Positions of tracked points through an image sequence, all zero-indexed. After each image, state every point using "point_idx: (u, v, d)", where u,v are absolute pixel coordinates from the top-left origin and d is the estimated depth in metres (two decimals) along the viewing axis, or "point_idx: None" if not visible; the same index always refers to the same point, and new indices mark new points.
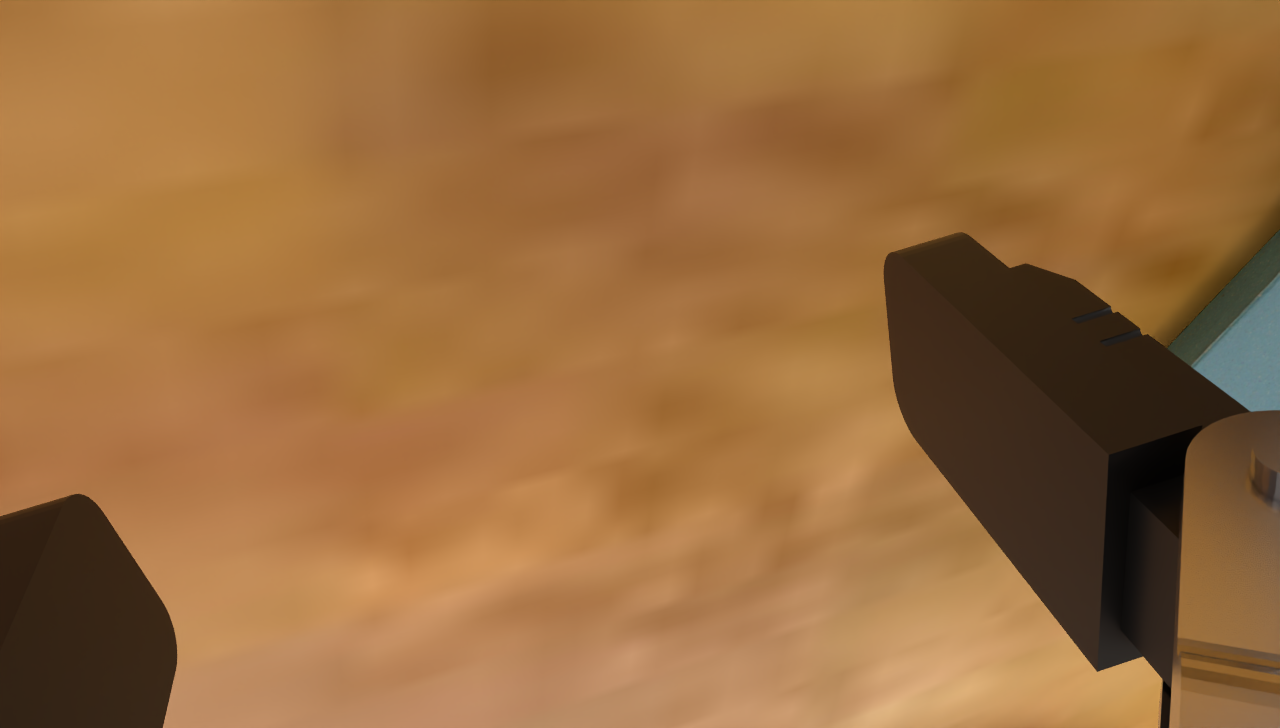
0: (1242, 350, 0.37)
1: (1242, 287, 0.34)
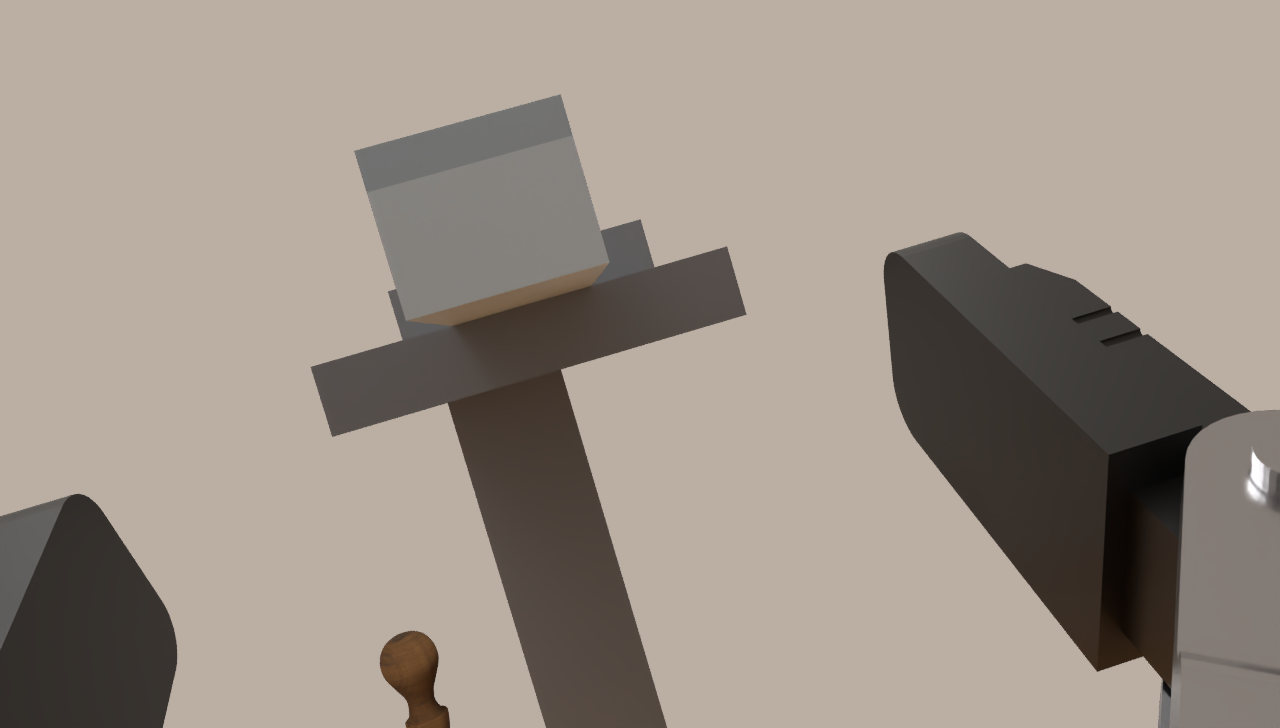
0: None
1: None
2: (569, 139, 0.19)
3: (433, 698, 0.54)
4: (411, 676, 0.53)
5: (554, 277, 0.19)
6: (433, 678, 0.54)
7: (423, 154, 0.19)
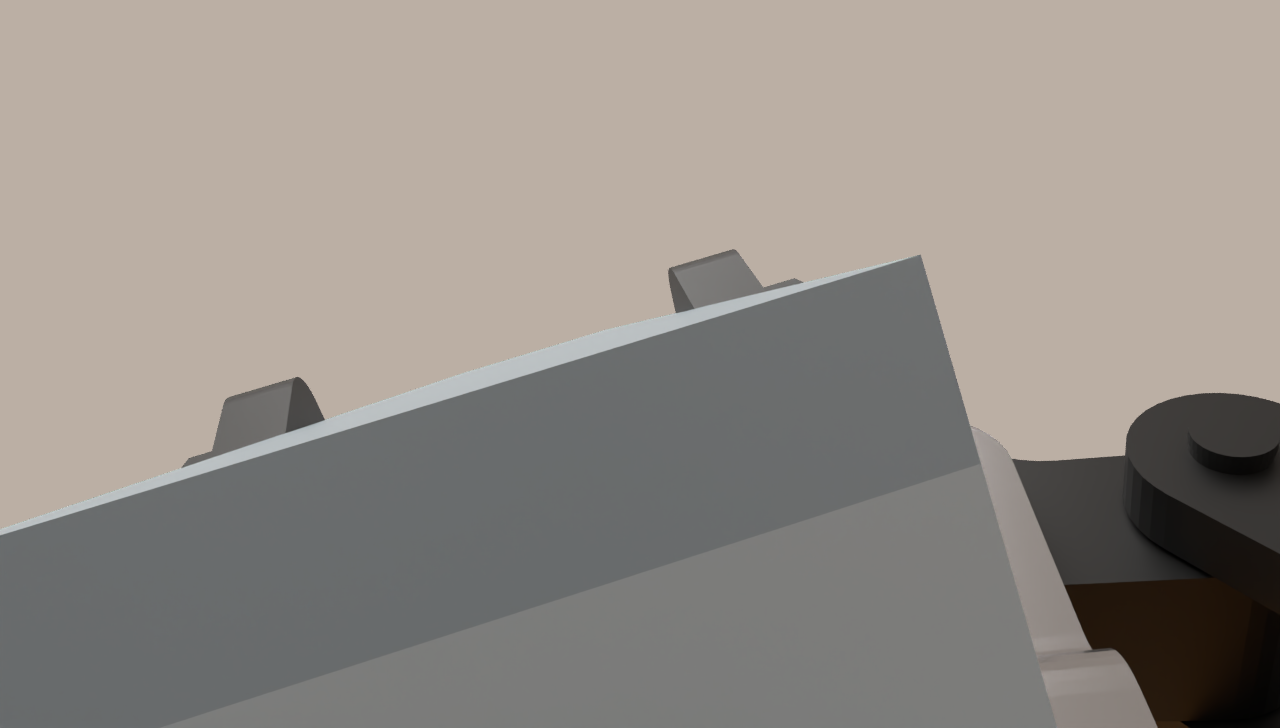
0: None
1: None
2: (967, 485, 0.04)
3: None
4: None
5: None
6: None
7: (201, 592, 0.04)
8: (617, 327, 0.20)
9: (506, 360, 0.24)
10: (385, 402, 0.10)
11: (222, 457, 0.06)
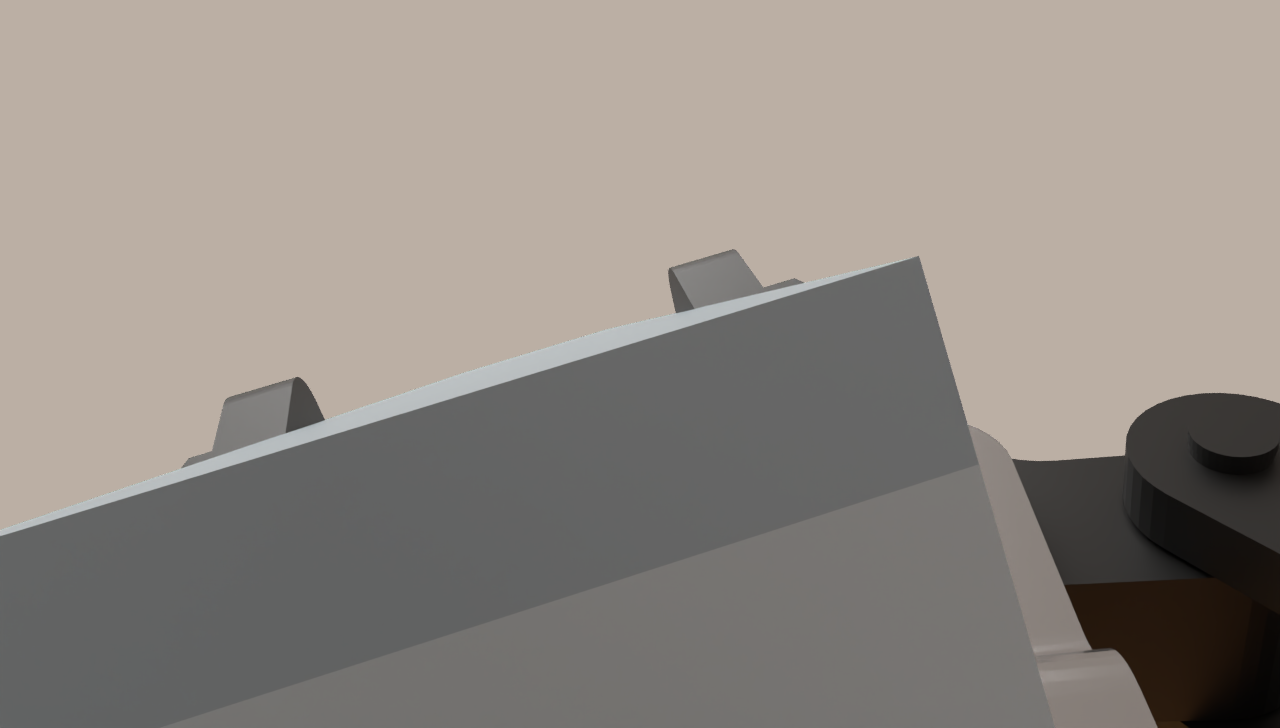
0: None
1: None
2: (965, 487, 0.04)
3: None
4: None
5: None
6: None
7: (202, 593, 0.04)
8: None
9: None
10: (385, 402, 0.10)
11: (223, 457, 0.06)
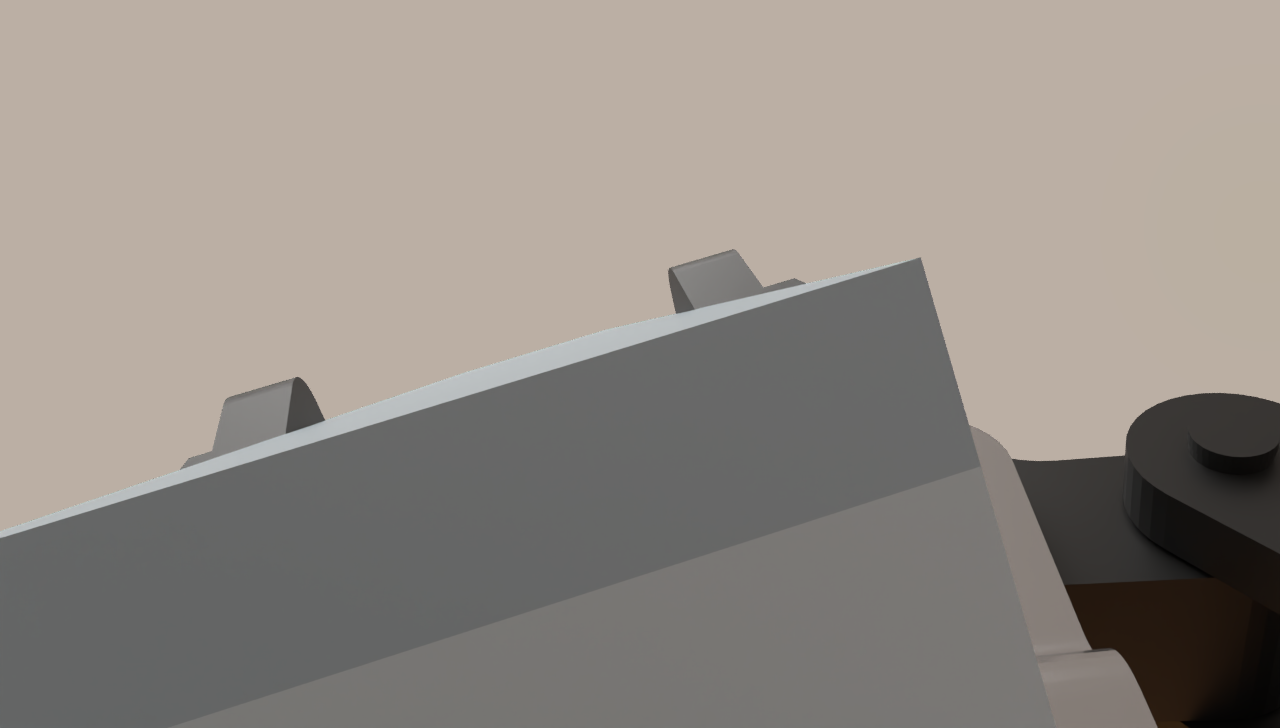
0: None
1: None
2: (967, 489, 0.04)
3: None
4: None
5: None
6: None
7: (201, 596, 0.04)
8: None
9: (506, 360, 0.24)
10: (385, 403, 0.10)
11: (222, 459, 0.06)
